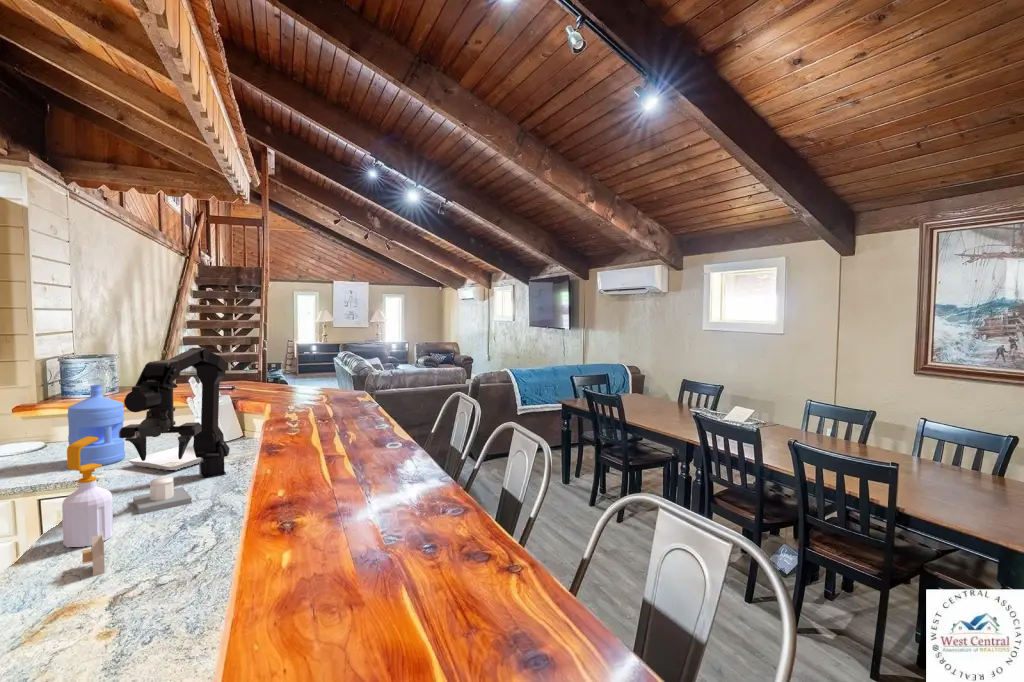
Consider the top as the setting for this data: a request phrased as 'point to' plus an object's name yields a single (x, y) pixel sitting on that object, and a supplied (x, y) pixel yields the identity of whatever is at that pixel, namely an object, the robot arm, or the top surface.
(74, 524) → the soap bottle
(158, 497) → the cap
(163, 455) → the salad plate
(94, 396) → the water jug
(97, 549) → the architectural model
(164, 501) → the post base
